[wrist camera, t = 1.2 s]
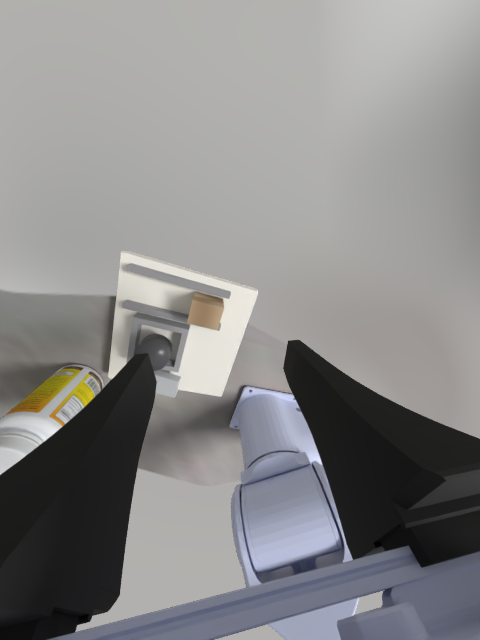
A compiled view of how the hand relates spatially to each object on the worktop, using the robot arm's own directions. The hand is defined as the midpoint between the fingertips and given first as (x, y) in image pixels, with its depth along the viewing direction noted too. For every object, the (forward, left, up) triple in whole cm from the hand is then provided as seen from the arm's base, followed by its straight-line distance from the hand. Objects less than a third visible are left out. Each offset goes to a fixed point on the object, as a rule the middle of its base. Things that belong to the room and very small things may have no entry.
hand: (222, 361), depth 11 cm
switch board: (+3, +6, -14) cm, 15 cm away
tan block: (+1, +1, -12) cm, 12 cm away
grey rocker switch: (+4, +11, -11) cm, 16 cm away
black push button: (+5, +7, -11) cm, 13 cm away
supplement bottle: (+14, +16, -14) cm, 25 cm away
